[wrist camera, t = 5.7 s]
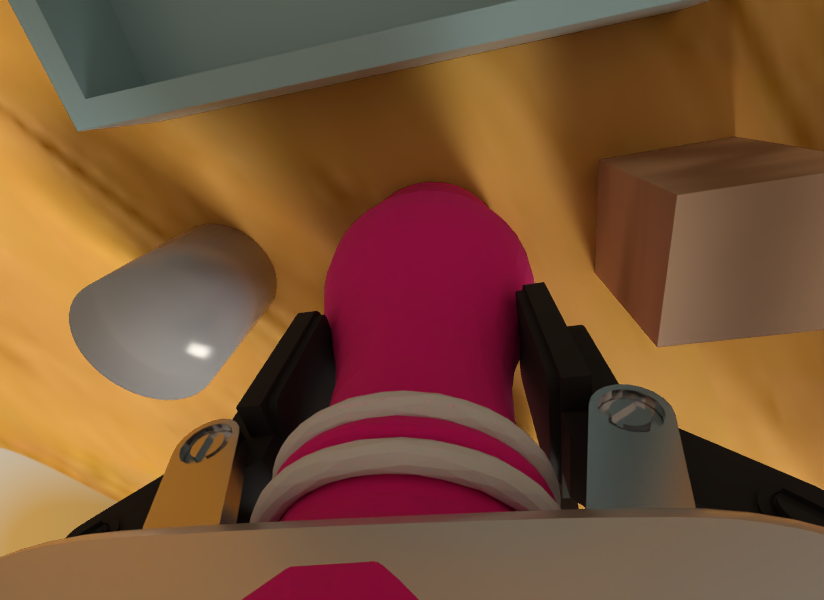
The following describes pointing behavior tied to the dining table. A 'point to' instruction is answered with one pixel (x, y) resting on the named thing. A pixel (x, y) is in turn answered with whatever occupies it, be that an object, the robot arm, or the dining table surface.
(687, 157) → the walnut block
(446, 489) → the pepper mill
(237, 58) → the tray
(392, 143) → the dining table surface
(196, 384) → the grey rounded lump
